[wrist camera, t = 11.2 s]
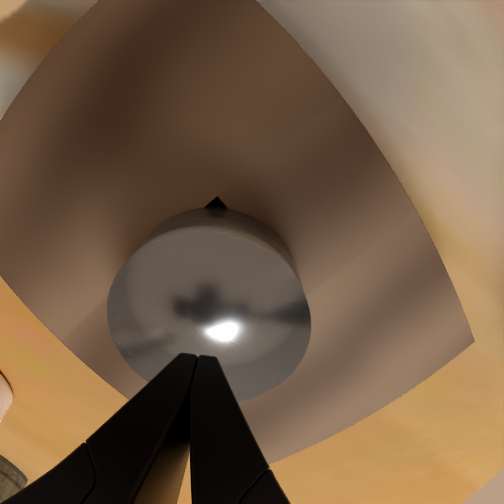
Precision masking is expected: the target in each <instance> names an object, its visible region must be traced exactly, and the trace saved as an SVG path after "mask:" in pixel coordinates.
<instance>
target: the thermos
mask: <svg viewBox="0 0 504 504" xmlns="http://www.w3.org/2000/svg"><path fill="white" fill-rule="evenodd" d="M26 483H27V478H26V476H25V475H24V474H23V473H22V472H21V471H20V470H19V469H18V468H17V467H15V466H14V465H13V464H12V463H10V462H9V461H8V460H6V459H5V458H4V457H2V456H1V455H0V503H1V502H3V501H4V500H6V499H8V498H9V497H11V496H12V495H14V494H16V493H17V492H19V491H20V490H22V489H23V488H24V487H25V485H26Z"/></svg>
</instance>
